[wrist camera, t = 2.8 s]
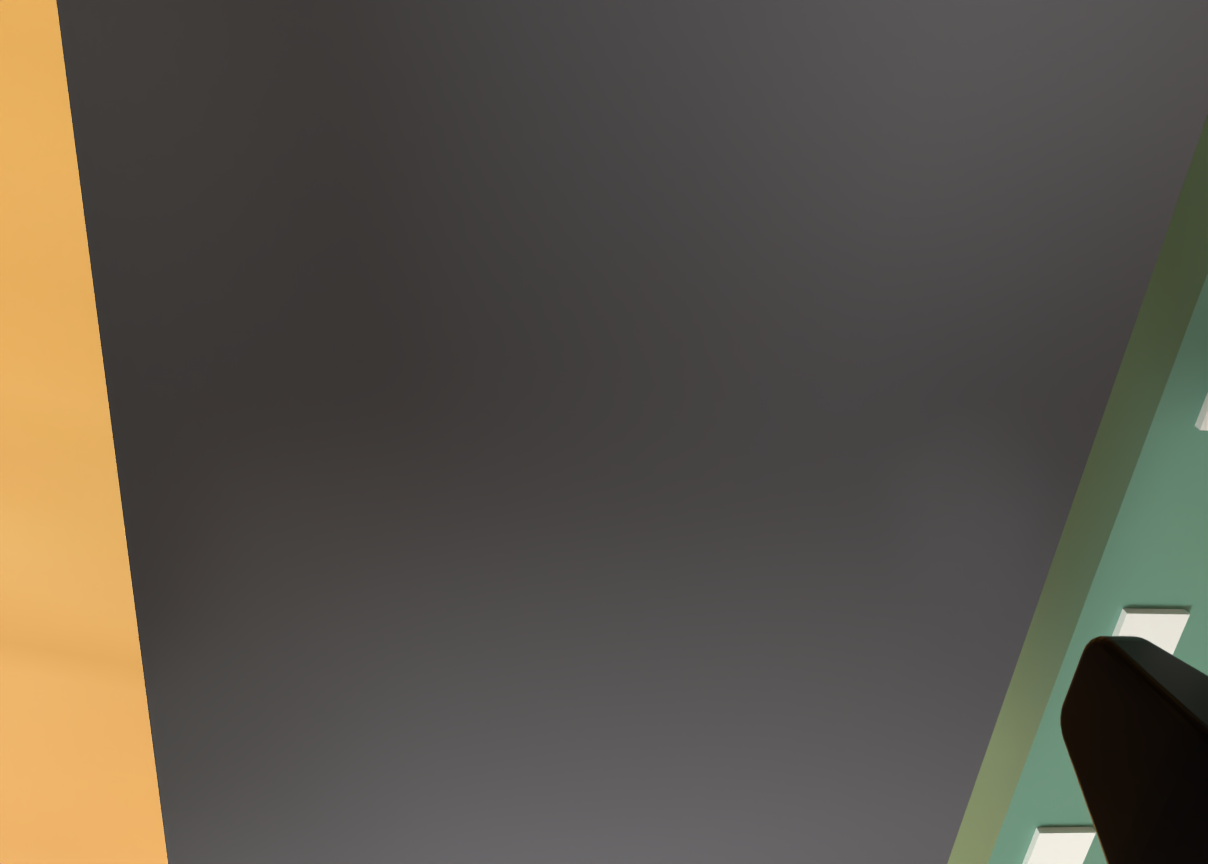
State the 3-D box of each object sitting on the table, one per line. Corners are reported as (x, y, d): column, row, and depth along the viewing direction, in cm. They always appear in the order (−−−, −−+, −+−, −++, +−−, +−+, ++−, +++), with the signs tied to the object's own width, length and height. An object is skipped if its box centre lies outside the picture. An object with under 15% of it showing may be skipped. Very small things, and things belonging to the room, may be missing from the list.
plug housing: (279, -197, 9) (28, -207, 4) (856, -136, 10) (1273, -76, 5) (317, 824, 15) (233, 1365, 10) (683, 820, 16) (787, 1324, 10)
